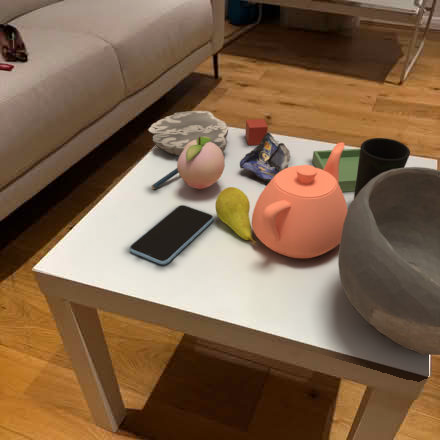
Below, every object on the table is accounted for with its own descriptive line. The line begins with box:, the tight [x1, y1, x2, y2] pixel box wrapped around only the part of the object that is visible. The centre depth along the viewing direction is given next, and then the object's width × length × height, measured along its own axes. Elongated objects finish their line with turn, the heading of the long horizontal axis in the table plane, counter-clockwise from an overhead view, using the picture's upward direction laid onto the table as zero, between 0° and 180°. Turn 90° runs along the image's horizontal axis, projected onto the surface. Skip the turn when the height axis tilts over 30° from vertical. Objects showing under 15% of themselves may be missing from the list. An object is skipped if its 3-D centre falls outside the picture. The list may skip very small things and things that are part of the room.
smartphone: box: [129, 204, 214, 265], centre depth 77 cm, size 7×1×15 cm
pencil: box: [151, 167, 179, 191], centre depth 90 cm, size 1×1×15 cm
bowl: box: [337, 166, 440, 356], centre depth 59 cm, size 24×24×15 cm
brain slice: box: [147, 110, 229, 157], centre depth 100 cm, size 20×17×3 cm
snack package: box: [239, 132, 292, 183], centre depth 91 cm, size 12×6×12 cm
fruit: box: [215, 186, 258, 245], centre depth 77 cm, size 6×6×12 cm
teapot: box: [251, 141, 348, 259], centre depth 73 cm, size 22×15×12 cm
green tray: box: [311, 148, 360, 193], centre depth 91 cm, size 12×12×2 cm
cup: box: [353, 137, 411, 200], centre depth 78 cm, size 8×8×12 cm
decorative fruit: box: [176, 136, 226, 190], centre depth 84 cm, size 9×8×10 cm
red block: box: [245, 118, 269, 146], centre depth 101 cm, size 4×4×4 cm
